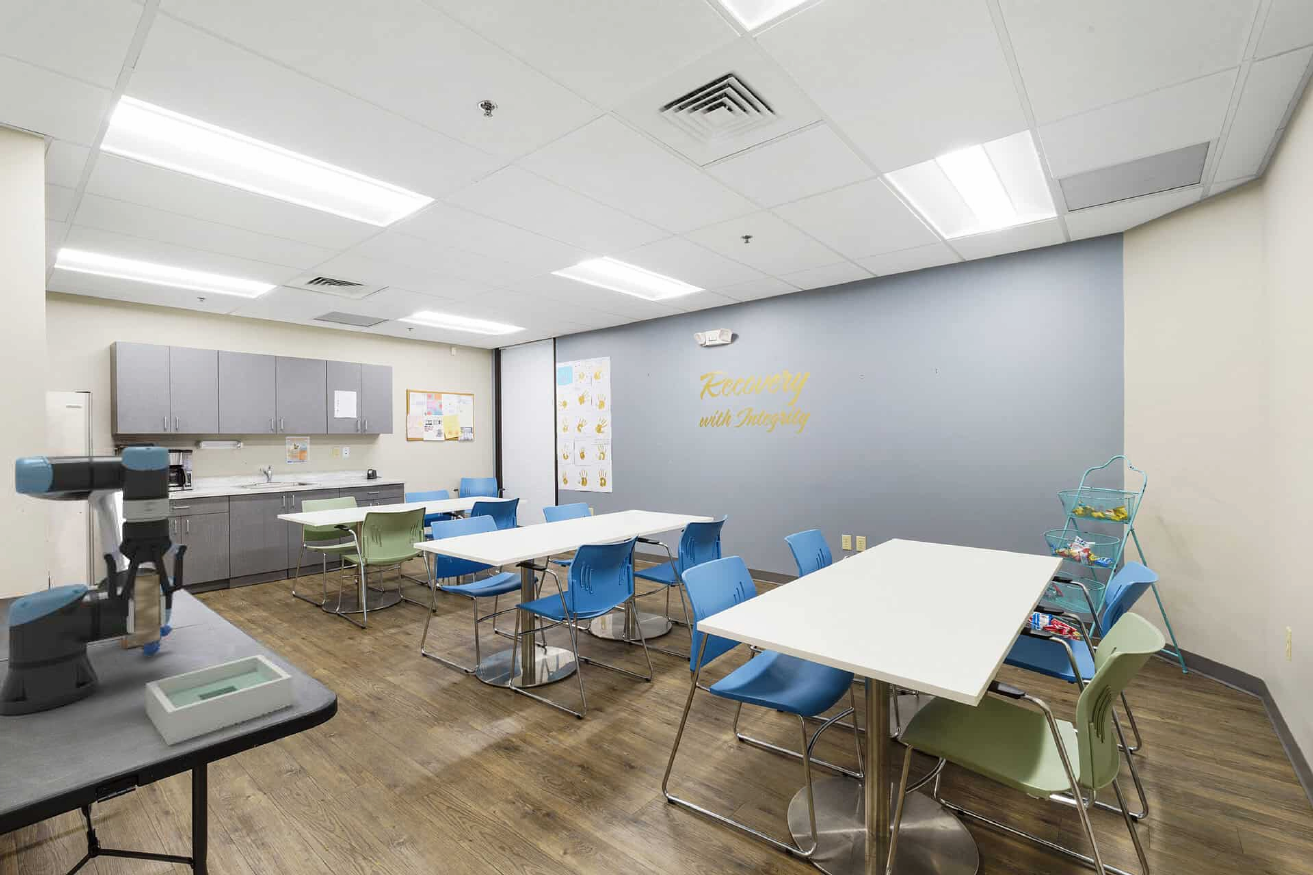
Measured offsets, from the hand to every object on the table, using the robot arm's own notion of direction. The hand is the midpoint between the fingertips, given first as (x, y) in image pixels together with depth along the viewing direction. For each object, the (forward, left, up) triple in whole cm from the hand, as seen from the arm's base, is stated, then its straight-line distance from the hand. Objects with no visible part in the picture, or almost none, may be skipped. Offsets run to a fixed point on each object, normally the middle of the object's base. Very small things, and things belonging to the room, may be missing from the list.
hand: (146, 627), depth 121 cm
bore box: (+9, -16, -16) cm, 24 cm away
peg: (0, 0, -3) cm, 3 cm away
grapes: (+7, +34, -16) cm, 38 cm away
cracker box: (+6, +52, -16) cm, 55 cm away
